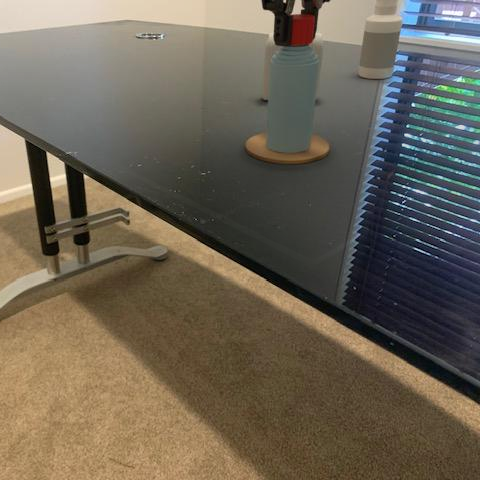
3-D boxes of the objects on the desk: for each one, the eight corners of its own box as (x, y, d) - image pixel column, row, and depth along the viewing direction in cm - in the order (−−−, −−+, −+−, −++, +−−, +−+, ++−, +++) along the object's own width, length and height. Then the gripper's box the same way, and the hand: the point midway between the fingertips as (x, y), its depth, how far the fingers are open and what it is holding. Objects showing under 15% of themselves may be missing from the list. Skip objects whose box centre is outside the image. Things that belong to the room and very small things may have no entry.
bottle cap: (293, 38, 69) (295, 13, 67) (319, 41, 66) (321, 15, 64) (273, 43, 67) (275, 17, 65) (298, 46, 64) (300, 19, 62)
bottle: (285, 134, 78) (294, 14, 69) (319, 144, 73) (334, 18, 64) (256, 145, 74) (262, 21, 66) (290, 156, 70) (302, 25, 61)
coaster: (281, 129, 81) (282, 125, 81) (346, 147, 73) (346, 144, 73) (228, 148, 75) (228, 144, 75) (292, 171, 67) (292, 167, 67)
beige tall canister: (357, 79, 105) (371, -18, 96) (357, 71, 110) (371, -21, 101) (393, 79, 103) (411, -19, 94) (391, 72, 108) (408, -22, 99)
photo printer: (317, 95, 96) (324, 26, 90) (318, 102, 93) (326, 30, 86) (262, 95, 98) (265, 28, 92) (261, 102, 95) (265, 32, 88)
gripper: (319, -112, 64) (306, 32, 73) (239, -112, 57) (235, 48, 66) (372, -118, 59) (351, 37, 68) (292, -119, 52) (280, 55, 60)
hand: (294, 41), depth 67 cm, fingers open, 4 cm apart
